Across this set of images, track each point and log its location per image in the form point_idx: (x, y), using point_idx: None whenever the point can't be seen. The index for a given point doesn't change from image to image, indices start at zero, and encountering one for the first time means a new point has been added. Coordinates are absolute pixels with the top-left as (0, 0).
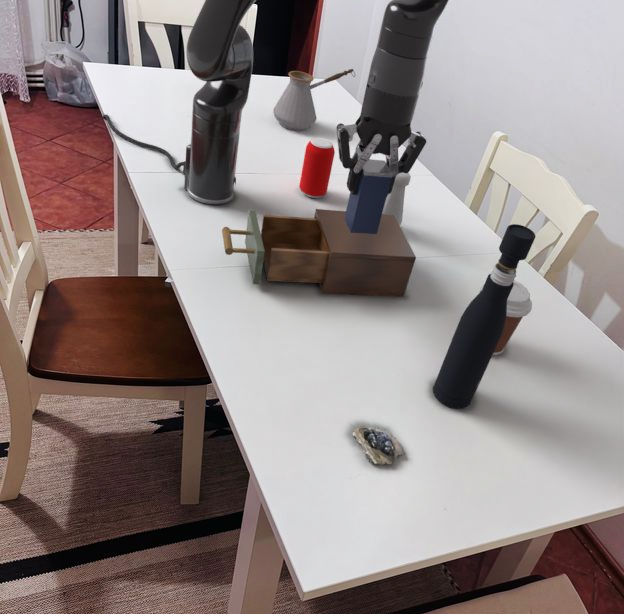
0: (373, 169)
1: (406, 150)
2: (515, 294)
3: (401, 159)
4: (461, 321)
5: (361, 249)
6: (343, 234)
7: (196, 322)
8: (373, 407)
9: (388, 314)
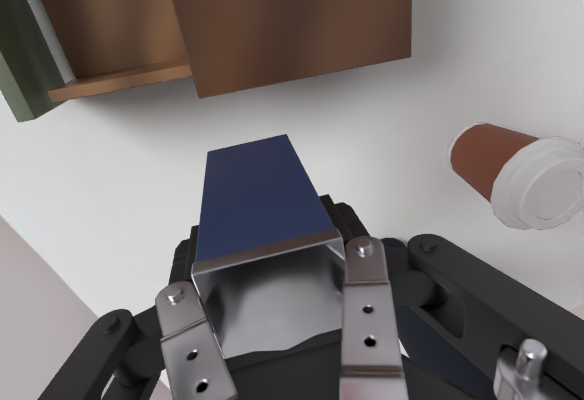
0: (271, 344)
1: (473, 311)
2: (559, 204)
3: (428, 273)
4: (411, 354)
5: (276, 61)
6: None
7: (4, 215)
8: None
9: (328, 112)
